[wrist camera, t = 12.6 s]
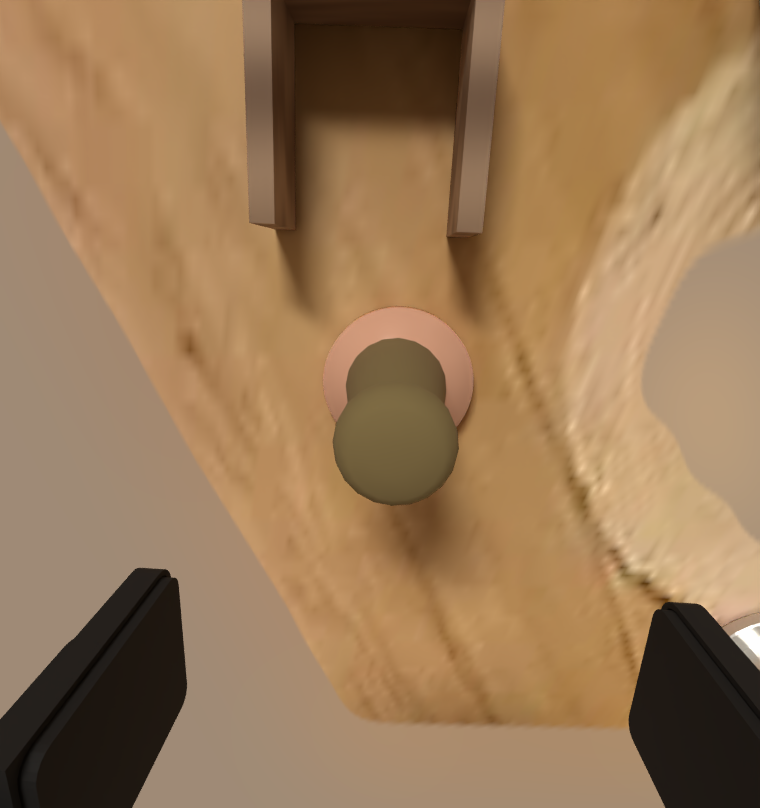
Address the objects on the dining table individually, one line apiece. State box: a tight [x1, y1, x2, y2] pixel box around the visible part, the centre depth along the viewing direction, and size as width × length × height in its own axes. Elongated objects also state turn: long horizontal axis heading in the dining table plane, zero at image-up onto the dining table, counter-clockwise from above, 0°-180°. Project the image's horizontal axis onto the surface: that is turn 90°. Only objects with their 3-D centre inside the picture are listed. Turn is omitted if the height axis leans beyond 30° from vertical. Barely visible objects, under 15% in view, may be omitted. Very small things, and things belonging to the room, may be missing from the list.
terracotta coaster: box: [323, 306, 474, 427], centre depth 30 cm, size 9×9×1 cm
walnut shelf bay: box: [242, 0, 505, 238], centre depth 24 cm, size 11×11×5 cm
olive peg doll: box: [333, 338, 459, 506], centre depth 24 cm, size 6×6×11 cm
